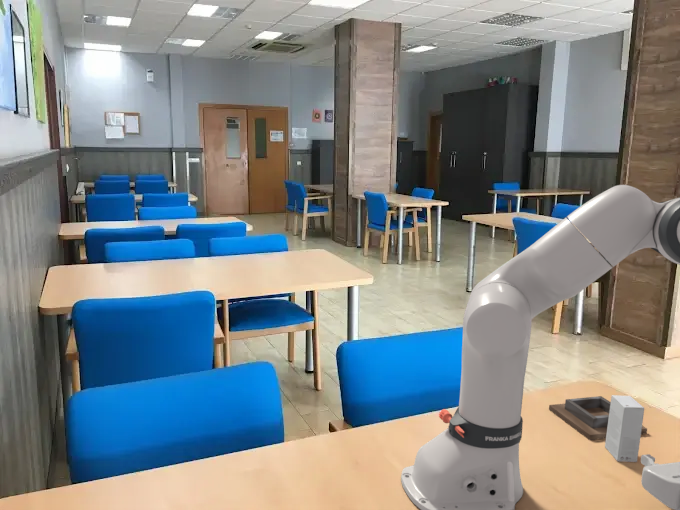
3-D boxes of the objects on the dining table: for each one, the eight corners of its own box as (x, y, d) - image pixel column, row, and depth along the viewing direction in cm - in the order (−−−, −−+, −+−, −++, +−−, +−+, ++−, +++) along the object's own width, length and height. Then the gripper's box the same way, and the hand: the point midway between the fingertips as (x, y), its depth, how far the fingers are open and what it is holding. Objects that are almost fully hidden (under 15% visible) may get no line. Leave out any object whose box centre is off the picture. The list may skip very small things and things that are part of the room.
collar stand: (589, 440, 125) (591, 424, 124) (548, 409, 139) (550, 395, 138) (646, 433, 128) (648, 418, 128) (601, 404, 143) (602, 391, 142)
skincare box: (637, 462, 116) (645, 408, 114) (617, 462, 116) (624, 407, 114) (623, 447, 122) (630, 395, 120) (603, 446, 122) (610, 394, 120)
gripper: (782, 474, 96) (711, 434, 110) (684, 488, 91) (622, 445, 104) (775, 508, 98) (706, 464, 111) (678, 523, 92) (617, 476, 106)
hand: (664, 455), depth 108 cm, fingers open, 8 cm apart
